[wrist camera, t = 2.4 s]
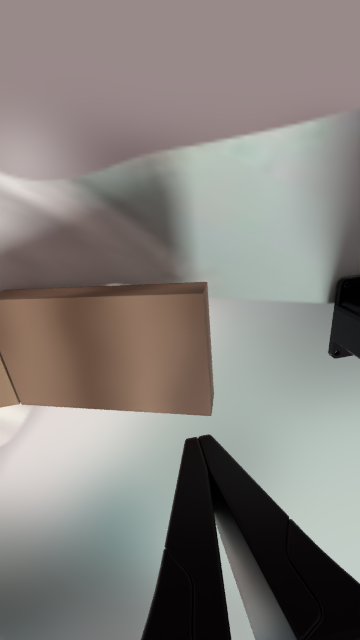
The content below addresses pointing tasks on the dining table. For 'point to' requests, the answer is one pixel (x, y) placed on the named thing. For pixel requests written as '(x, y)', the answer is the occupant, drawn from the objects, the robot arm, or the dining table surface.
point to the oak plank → (7, 387)
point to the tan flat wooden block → (110, 347)
